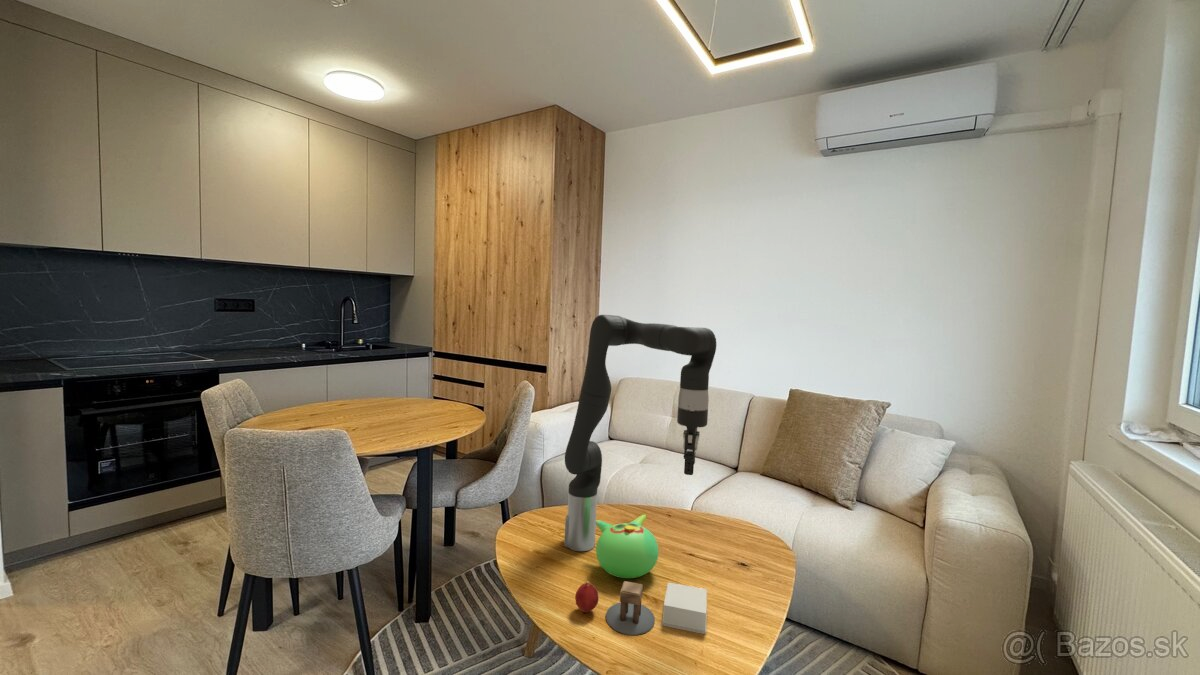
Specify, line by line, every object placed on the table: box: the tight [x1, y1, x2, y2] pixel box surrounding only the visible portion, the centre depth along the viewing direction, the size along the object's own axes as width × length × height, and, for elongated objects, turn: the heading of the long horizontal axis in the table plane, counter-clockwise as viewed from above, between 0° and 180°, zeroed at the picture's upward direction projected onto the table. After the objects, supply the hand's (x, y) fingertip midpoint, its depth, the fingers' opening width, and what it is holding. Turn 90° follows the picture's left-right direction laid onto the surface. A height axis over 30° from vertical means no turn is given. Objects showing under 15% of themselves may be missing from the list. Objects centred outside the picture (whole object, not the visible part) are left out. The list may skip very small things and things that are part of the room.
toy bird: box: [595, 514, 660, 579], centre depth 134 cm, size 18×17×15 cm
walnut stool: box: [619, 580, 644, 624], centre depth 114 cm, size 5×5×7 cm
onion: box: [574, 580, 599, 614], centre depth 116 cm, size 6×6×8 cm
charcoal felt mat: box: [605, 601, 656, 636], centre depth 114 cm, size 12×12×1 cm
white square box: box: [661, 581, 708, 635], centre depth 116 cm, size 10×10×5 cm
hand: (689, 468), depth 118 cm, fingers open, 8 cm apart
